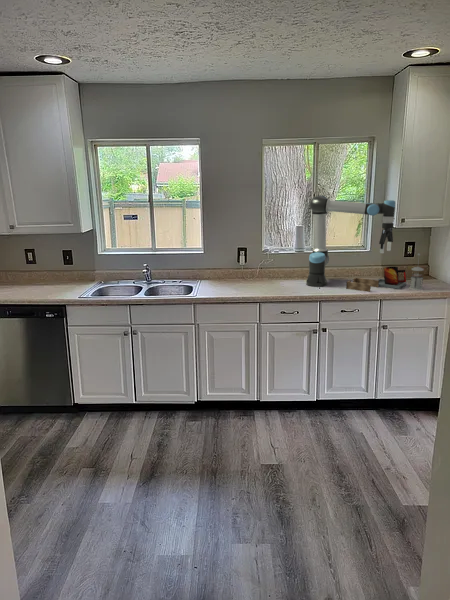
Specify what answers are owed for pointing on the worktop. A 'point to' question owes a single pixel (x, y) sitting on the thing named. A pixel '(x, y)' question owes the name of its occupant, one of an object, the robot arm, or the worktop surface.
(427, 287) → the worktop surface
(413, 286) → the french press
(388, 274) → the mug
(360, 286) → the wooden frame
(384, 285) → the tray
